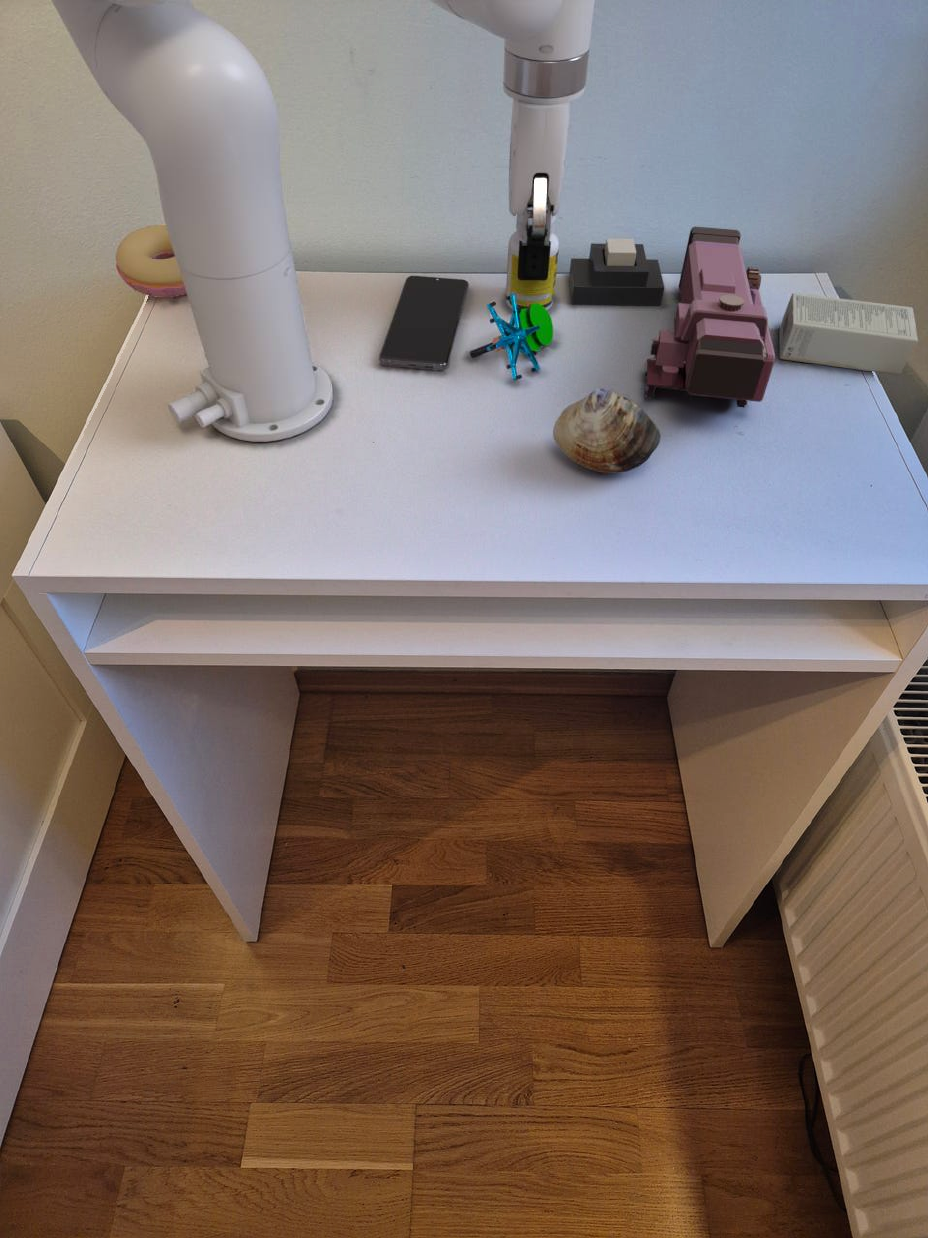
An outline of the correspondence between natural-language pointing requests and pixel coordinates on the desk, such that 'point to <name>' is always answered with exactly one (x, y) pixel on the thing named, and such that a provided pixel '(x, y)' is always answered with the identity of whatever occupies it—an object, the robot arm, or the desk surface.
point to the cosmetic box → (847, 333)
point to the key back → (620, 252)
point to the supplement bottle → (530, 289)
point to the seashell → (606, 433)
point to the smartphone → (425, 323)
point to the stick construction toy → (520, 334)
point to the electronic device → (715, 325)
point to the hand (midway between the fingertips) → (531, 261)
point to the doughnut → (150, 263)
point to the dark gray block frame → (615, 280)
